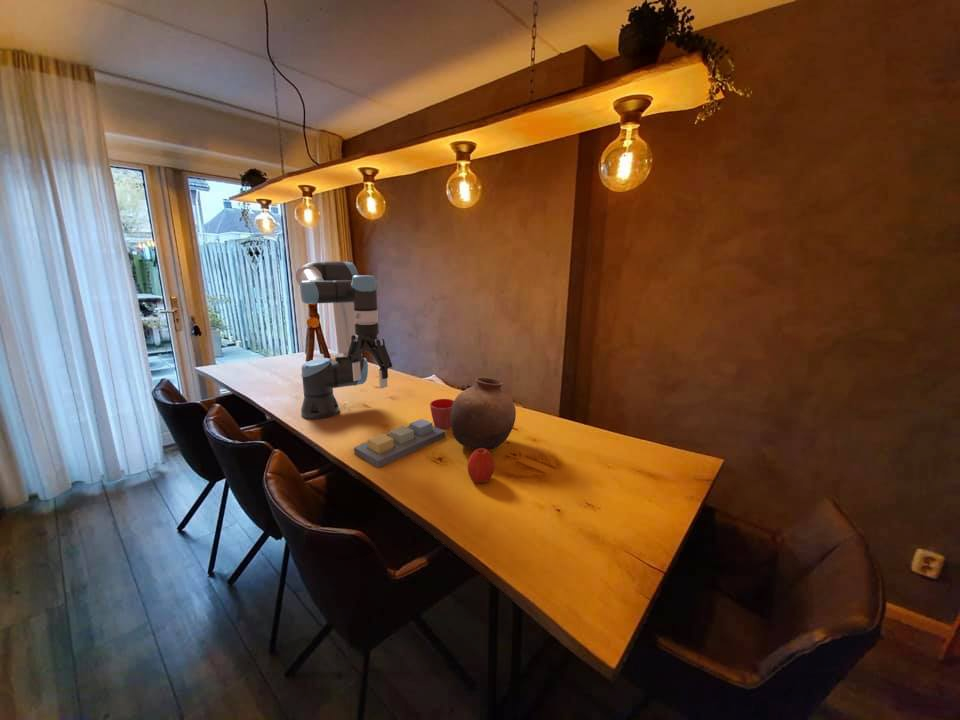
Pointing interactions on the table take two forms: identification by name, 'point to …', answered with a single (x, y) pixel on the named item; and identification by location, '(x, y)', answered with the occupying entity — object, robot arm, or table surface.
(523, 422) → the table surface
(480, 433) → the pottery
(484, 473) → the red oval body
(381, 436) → the ochre button
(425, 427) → the blue button
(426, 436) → the button board
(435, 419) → the flower pot
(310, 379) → the robot arm
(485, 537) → the table surface
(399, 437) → the sage button
